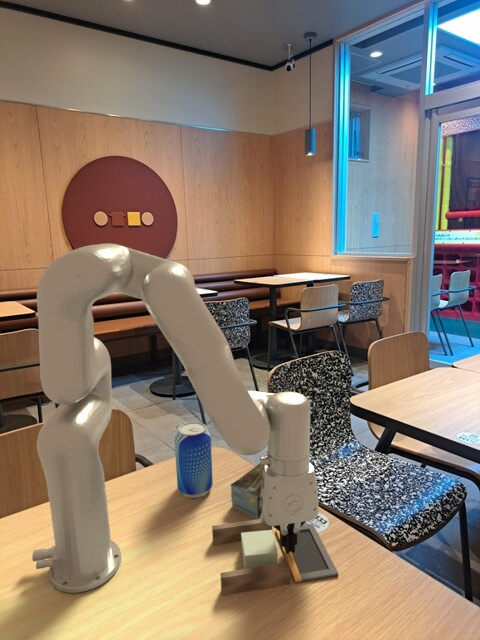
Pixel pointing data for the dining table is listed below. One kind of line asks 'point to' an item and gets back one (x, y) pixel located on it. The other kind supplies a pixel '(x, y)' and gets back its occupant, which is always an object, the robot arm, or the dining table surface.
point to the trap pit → (309, 557)
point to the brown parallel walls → (250, 576)
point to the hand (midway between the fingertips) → (288, 547)
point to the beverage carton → (248, 492)
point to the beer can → (193, 459)
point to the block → (258, 549)
